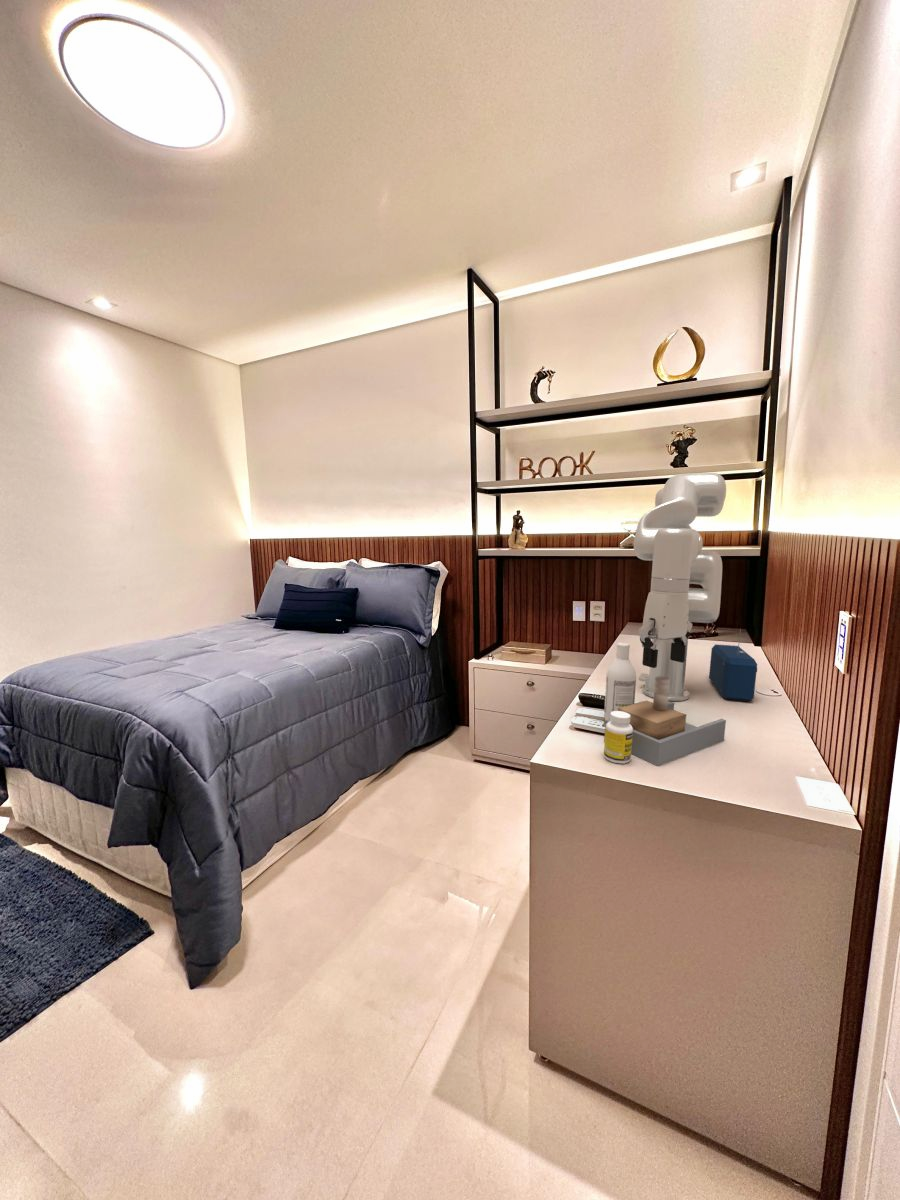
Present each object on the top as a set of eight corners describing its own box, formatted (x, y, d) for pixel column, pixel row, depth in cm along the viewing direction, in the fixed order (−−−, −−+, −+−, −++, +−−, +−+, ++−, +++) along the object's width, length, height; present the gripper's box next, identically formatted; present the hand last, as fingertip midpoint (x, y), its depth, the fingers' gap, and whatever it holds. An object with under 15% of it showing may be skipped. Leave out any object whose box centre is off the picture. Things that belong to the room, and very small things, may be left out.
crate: (615, 737, 114) (619, 677, 112) (644, 728, 119) (648, 671, 117) (654, 755, 105) (659, 690, 103) (683, 744, 110) (689, 683, 108)
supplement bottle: (627, 766, 102) (630, 721, 101) (600, 760, 105) (603, 715, 104) (633, 756, 107) (636, 712, 106) (607, 750, 110) (610, 707, 108)
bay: (604, 740, 115) (605, 720, 114) (669, 720, 127) (670, 701, 127) (658, 766, 103) (659, 743, 102) (723, 740, 116) (725, 720, 115)
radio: (757, 704, 140) (765, 634, 137) (723, 701, 142) (729, 631, 139) (737, 682, 160) (743, 620, 157) (707, 679, 162) (712, 618, 159)
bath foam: (639, 724, 124) (644, 645, 121) (618, 729, 121) (623, 648, 118) (618, 715, 131) (623, 639, 128) (597, 719, 128) (602, 642, 125)
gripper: (678, 583, 116) (672, 655, 118) (628, 586, 107) (623, 664, 109) (709, 586, 110) (702, 663, 112) (659, 589, 101) (653, 673, 103)
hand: (663, 663), depth 111 cm, fingers open, 9 cm apart
